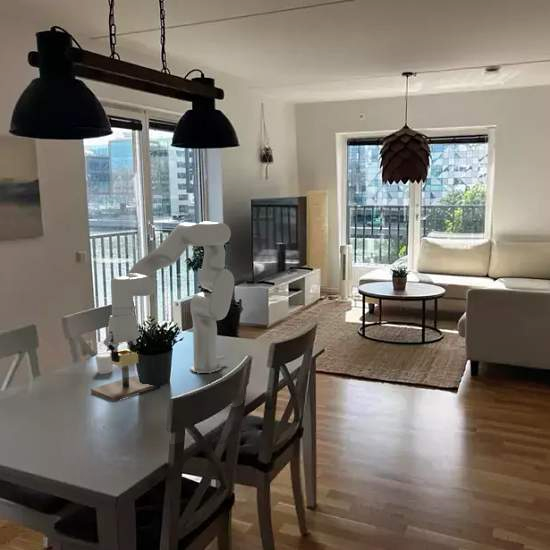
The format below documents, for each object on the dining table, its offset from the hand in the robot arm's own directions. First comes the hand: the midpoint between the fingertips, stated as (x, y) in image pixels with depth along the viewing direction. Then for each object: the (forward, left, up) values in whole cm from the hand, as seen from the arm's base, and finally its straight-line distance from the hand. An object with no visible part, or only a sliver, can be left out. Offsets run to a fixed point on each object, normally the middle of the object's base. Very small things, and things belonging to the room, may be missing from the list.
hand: (124, 358), depth 206 cm
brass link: (0, 0, -2) cm, 2 cm away
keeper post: (0, 0, -10) cm, 10 cm away
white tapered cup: (-7, -24, -12) cm, 28 cm away
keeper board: (0, 0, -12) cm, 12 cm away
